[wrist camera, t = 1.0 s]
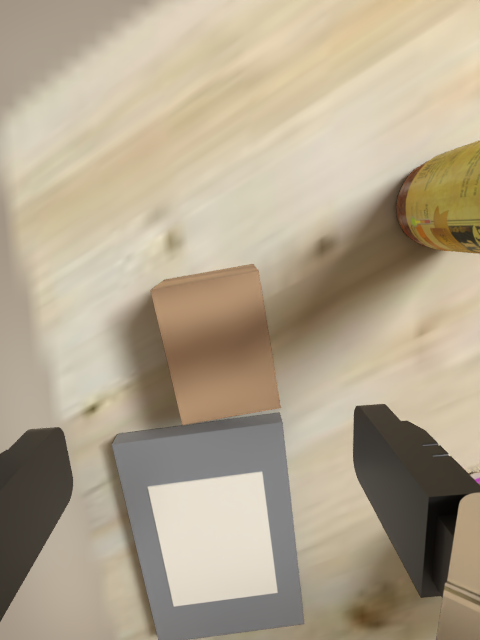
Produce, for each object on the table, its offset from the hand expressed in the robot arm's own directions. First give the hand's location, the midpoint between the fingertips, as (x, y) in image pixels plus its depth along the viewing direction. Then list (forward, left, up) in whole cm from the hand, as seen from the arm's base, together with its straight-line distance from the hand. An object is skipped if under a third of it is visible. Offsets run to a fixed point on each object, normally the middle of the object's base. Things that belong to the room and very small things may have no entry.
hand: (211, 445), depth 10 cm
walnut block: (-1, +1, -18) cm, 18 cm away
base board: (-10, +16, -17) cm, 26 cm away
